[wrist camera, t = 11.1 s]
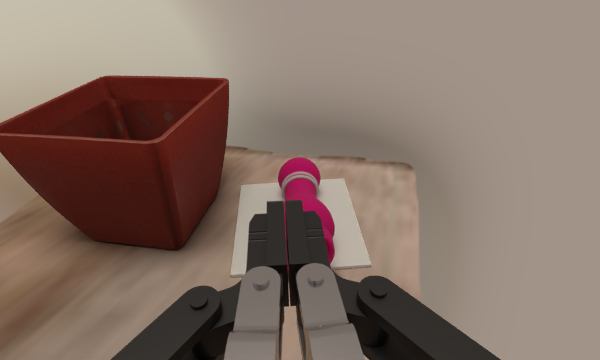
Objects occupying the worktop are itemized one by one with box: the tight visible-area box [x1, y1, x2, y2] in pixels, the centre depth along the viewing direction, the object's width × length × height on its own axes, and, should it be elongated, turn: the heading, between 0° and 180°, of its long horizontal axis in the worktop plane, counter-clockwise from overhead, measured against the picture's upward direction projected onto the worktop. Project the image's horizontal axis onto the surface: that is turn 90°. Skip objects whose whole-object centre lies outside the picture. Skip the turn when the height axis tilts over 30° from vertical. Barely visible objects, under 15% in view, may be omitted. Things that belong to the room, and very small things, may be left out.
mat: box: [231, 179, 371, 277], centre depth 47 cm, size 18×16×1 cm
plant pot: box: [0, 76, 229, 249], centre depth 45 cm, size 19×19×17 cm
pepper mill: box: [278, 158, 335, 266], centre depth 45 cm, size 7×7×20 cm
